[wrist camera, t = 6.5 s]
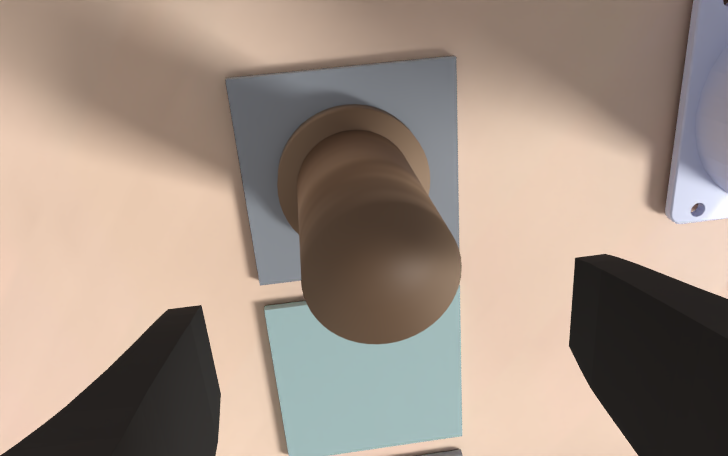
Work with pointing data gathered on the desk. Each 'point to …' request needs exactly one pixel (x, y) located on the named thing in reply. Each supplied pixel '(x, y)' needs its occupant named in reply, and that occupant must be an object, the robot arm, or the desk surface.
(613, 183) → the desk surface
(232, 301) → the desk surface
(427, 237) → the pawn
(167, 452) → the robot arm
